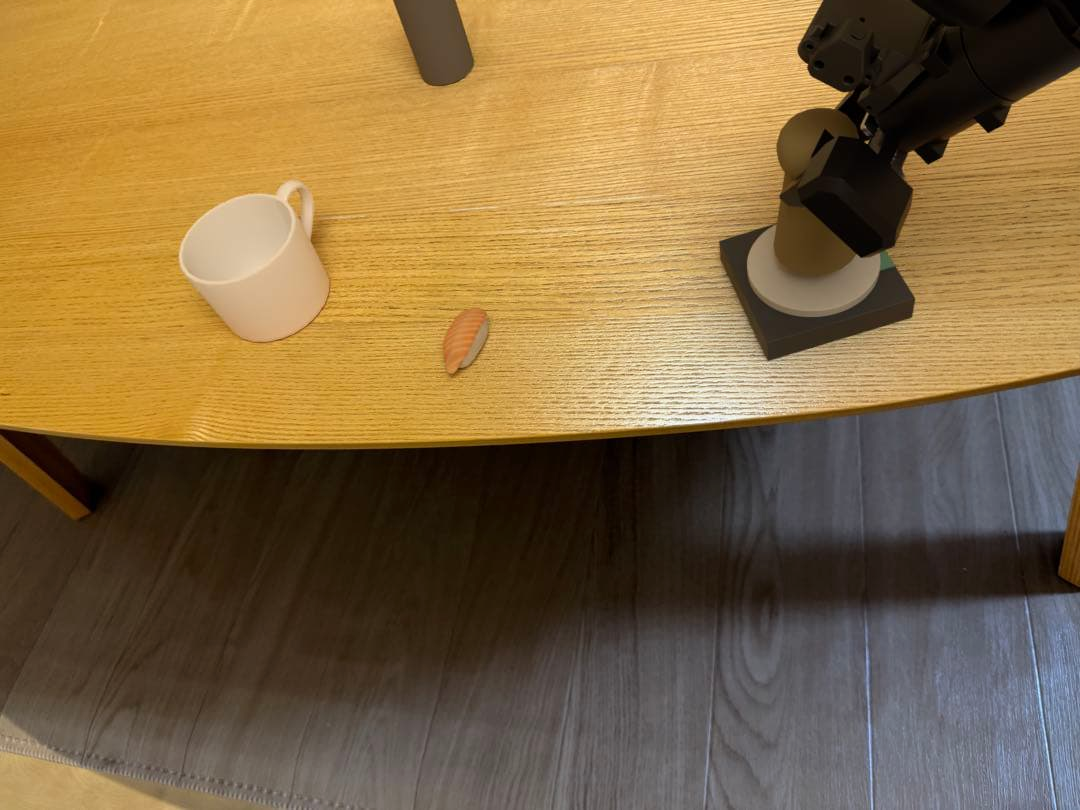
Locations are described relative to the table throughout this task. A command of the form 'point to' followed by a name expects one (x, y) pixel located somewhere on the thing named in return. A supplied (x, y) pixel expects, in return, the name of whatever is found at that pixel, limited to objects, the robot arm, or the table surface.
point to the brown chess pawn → (798, 230)
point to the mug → (258, 263)
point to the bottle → (436, 39)
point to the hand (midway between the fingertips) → (797, 173)
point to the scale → (811, 295)
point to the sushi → (465, 338)
